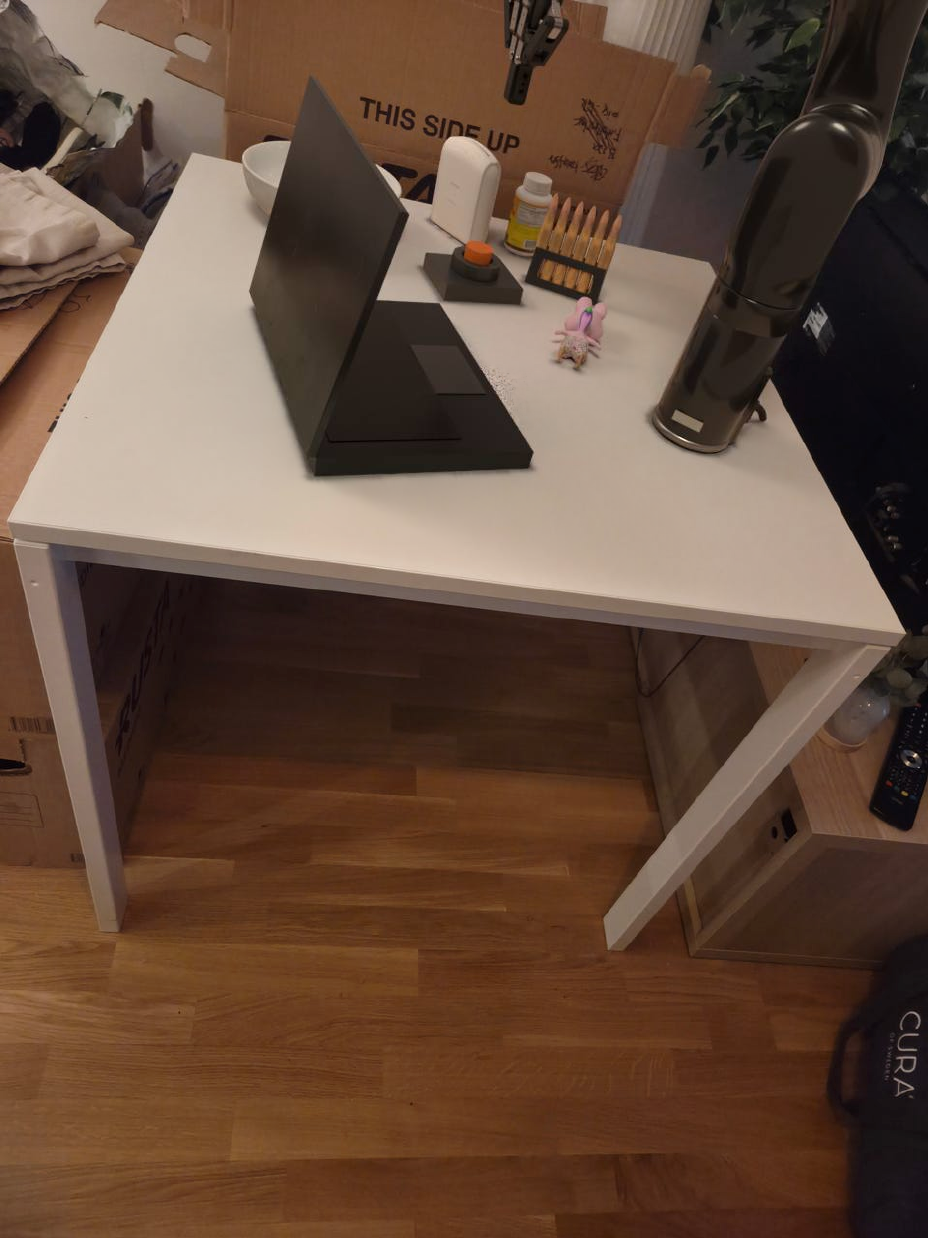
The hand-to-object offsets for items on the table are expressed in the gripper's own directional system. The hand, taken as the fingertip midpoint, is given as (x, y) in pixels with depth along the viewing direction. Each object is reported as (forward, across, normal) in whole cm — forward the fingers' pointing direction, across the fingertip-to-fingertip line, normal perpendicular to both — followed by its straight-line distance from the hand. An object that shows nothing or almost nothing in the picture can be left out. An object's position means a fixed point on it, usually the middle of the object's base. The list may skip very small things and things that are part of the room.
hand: (513, 101), depth 90 cm
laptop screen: (+9, -24, +27) cm, 38 cm away
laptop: (+22, -24, +19) cm, 38 cm away
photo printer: (+22, +17, -4) cm, 28 cm away
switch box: (+22, 0, 0) cm, 22 cm away
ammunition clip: (+22, 0, -14) cm, 26 cm away
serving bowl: (+22, +16, +17) cm, 32 cm away
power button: (+18, 0, 0) cm, 18 cm away
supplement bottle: (+22, +13, -13) cm, 29 cm away
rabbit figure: (+22, -14, -10) cm, 28 cm away
